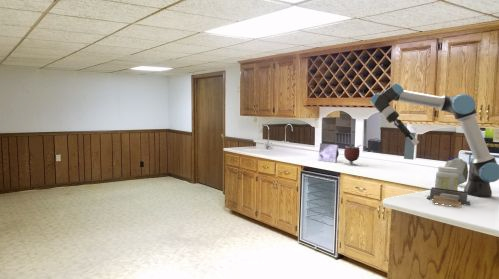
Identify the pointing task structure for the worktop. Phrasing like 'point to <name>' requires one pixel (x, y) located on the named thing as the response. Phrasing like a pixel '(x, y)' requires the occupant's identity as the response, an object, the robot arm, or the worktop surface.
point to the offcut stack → (447, 199)
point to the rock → (459, 169)
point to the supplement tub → (447, 178)
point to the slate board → (409, 148)
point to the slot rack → (439, 191)
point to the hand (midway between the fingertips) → (417, 143)
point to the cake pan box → (328, 153)
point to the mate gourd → (351, 154)
